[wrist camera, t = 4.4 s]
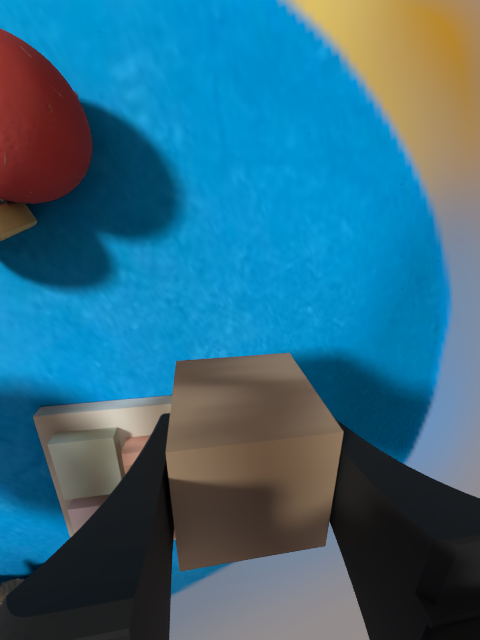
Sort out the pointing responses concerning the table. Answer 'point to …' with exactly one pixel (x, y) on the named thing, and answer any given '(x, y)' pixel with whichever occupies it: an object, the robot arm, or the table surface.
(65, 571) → the robot arm
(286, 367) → the walnut block
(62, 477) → the puzzle board
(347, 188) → the table surface
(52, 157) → the kendama
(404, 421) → the table surface
